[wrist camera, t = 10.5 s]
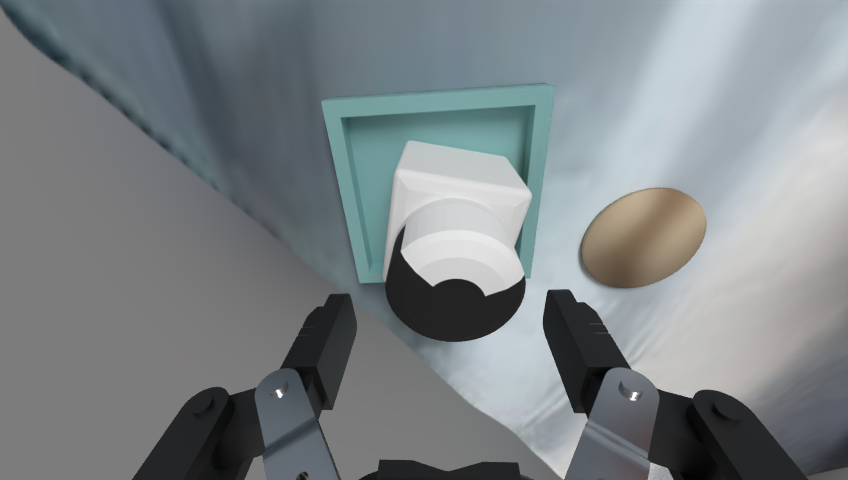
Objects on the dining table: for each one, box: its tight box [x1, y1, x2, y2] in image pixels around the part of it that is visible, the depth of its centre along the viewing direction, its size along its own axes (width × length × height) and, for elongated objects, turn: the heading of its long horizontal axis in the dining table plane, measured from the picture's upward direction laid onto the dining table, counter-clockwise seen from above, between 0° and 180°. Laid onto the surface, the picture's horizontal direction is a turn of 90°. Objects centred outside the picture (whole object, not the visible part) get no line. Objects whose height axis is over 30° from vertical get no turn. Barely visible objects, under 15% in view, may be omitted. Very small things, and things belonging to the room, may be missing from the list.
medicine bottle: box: [382, 140, 532, 342], centre depth 18 cm, size 7×7×12 cm
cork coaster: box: [581, 188, 706, 288], centre depth 25 cm, size 9×9×1 cm
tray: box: [321, 83, 555, 283], centre depth 23 cm, size 14×14×2 cm
